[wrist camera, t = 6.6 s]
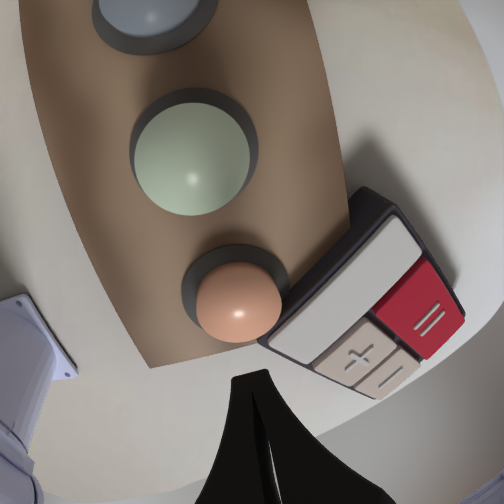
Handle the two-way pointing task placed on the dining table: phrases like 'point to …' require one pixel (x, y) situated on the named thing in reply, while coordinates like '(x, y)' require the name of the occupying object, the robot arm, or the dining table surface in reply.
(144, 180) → the sage button
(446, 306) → the calculator
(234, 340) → the terracotta button
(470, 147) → the dining table surface
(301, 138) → the button panel
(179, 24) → the slate button
